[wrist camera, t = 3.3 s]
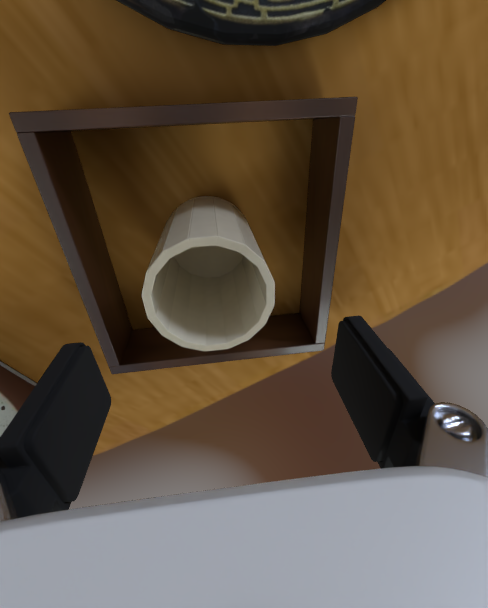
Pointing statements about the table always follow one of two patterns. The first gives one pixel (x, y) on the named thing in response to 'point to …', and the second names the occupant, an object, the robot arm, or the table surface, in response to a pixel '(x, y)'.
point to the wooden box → (92, 248)
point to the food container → (12, 394)
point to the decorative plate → (252, 18)
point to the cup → (208, 278)
